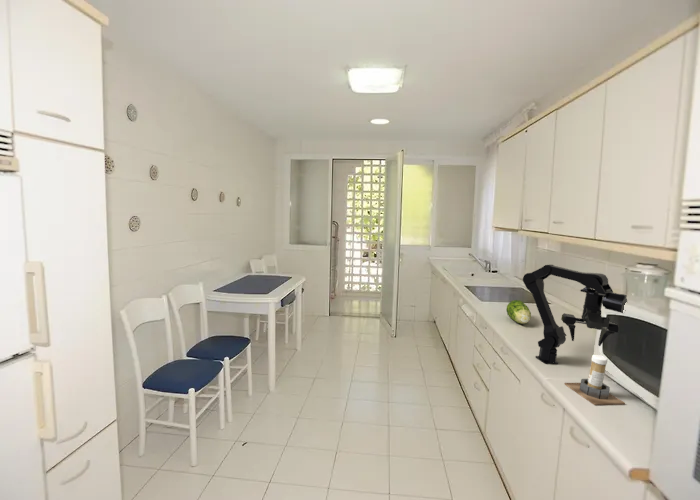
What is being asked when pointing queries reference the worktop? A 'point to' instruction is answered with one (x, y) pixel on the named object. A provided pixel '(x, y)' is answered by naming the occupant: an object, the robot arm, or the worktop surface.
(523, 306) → the lettuce
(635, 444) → the worktop surface
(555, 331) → the robot arm
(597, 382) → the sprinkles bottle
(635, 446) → the worktop surface
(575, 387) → the socket board
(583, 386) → the socket collar
